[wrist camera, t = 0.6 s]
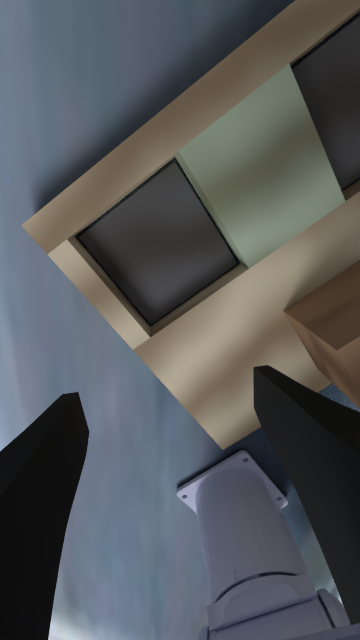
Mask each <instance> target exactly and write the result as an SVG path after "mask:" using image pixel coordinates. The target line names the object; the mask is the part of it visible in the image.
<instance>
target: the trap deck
mask: <svg viewBox="0 0 360 640" xmlns="http://www.w3.org/2000/svg"><path fill="white" fill-rule="evenodd" d="M358 12H360V0H295V1H294V2H293V3H291V4H290V5H289V6H288V7H286V8H285V9H284V10H283V11H282V12H280V13H279V14H278V15H277V16H275V17H274V18H273V19H272V20H271V21H269V22H268V23H267V24H266V25H265V26H263V27H262V28H261V29H260V30H258V31H257V32H256V33H255V34H254V35H252V36H251V37H250V38H249V39H247V40H246V41H245V42H244V43H243V44H241V45H240V46H239V47H238V48H237V49H235V50H234V51H233V52H232V53H230V54H229V55H228V56H227V57H226V58H224V59H223V60H222V61H221V62H220V63H218V64H217V65H216V66H215V67H213V68H212V69H211V70H210V71H209V72H207V73H206V74H205V75H204V76H202V77H201V78H200V79H199V80H198V81H196V82H195V83H194V84H193V85H192V86H190V87H189V88H188V89H187V90H185V91H184V92H183V93H182V94H181V95H179V96H178V97H177V98H176V99H175V100H173V101H172V102H171V103H170V104H168V105H167V106H166V107H165V108H164V109H162V110H161V111H160V112H159V113H157V114H156V115H155V116H154V117H153V118H151V119H150V120H149V121H148V122H147V123H145V124H144V125H143V126H142V127H140V128H139V129H138V130H137V131H136V132H134V133H133V134H132V135H131V136H129V137H128V138H127V139H126V140H125V141H123V142H122V143H121V144H120V145H119V146H117V147H116V148H115V149H114V150H112V151H111V152H110V153H109V154H108V155H106V156H105V157H104V158H103V159H102V160H100V161H99V162H98V163H97V164H95V165H94V166H93V167H92V168H91V169H89V170H88V171H87V172H86V173H84V174H83V175H82V176H81V177H80V178H78V179H77V180H76V181H75V182H74V183H72V184H71V185H70V186H69V187H67V188H66V189H65V190H64V191H63V192H61V193H60V194H59V195H58V196H57V197H55V198H54V199H53V200H52V201H50V202H49V203H48V204H47V205H46V206H44V207H43V208H42V209H41V210H39V211H38V212H37V213H36V214H35V215H33V216H32V217H31V218H30V219H29V220H27V221H26V222H25V223H24V224H22V225H21V226H22V227H23V228H24V229H25V230H26V231H27V232H28V233H29V235H30V236H31V237H32V238H33V239H34V240H35V241H36V242H37V244H38V245H39V246H40V247H41V248H42V249H43V250H44V251H45V252H46V254H47V255H48V256H49V257H50V258H51V259H52V260H53V261H54V262H55V264H56V265H57V266H58V267H59V268H60V269H61V270H62V271H63V272H64V274H65V275H66V276H67V277H68V278H69V279H70V280H71V281H72V283H73V284H74V285H75V286H76V287H77V288H78V289H79V290H80V291H81V293H82V294H83V295H84V296H85V297H86V298H87V299H88V300H89V301H90V303H91V304H92V305H93V306H94V307H95V308H96V309H97V310H98V311H99V313H100V314H101V315H102V316H103V317H104V318H105V319H106V320H107V321H108V323H109V324H110V325H111V326H112V327H113V328H114V329H115V330H116V332H117V333H118V334H119V335H120V336H121V337H122V338H123V339H124V340H125V342H126V343H127V344H128V345H129V346H130V347H131V348H132V349H133V350H134V352H135V353H136V354H137V355H138V356H139V357H140V358H141V359H142V360H143V362H144V363H145V364H146V365H147V366H148V367H149V368H150V369H151V371H152V372H153V373H154V374H155V375H156V376H157V377H158V378H159V379H160V381H161V382H162V383H163V384H164V385H165V386H166V387H167V388H168V389H169V391H170V392H171V393H172V394H173V395H174V396H175V397H176V398H177V399H178V401H179V402H180V403H181V404H182V405H183V406H184V407H185V408H186V409H187V411H188V412H189V413H190V414H191V415H192V416H193V417H194V418H195V420H196V421H197V422H198V423H199V424H200V425H201V426H202V427H203V428H204V430H205V431H206V432H207V433H208V434H209V435H210V436H211V437H212V438H213V440H214V441H215V442H216V443H217V444H218V445H219V446H220V447H221V448H222V450H224V449H226V448H227V447H229V446H231V445H232V444H234V443H235V442H237V441H239V440H240V439H242V438H244V437H245V436H247V435H249V434H250V433H252V432H254V431H255V430H257V429H258V428H260V427H261V425H260V422H259V420H258V417H257V415H256V412H255V410H254V389H253V367H257V366H264V365H269V366H271V367H273V368H274V369H276V370H278V371H280V372H281V373H283V374H285V375H286V376H288V377H290V378H292V379H293V380H295V381H297V382H298V383H300V384H302V385H304V386H306V387H307V388H309V389H311V390H313V391H315V392H317V393H318V392H319V391H321V390H322V389H324V388H326V387H327V386H329V385H331V384H332V382H331V381H330V380H329V379H328V378H327V377H325V376H324V375H323V374H322V373H321V372H320V371H319V370H318V369H317V367H316V365H315V364H314V362H313V360H312V359H311V357H310V355H309V353H308V352H307V350H306V348H305V347H304V345H303V343H302V342H301V340H300V338H299V336H298V335H297V333H296V331H295V330H294V328H293V326H292V325H291V323H290V321H289V319H288V318H287V316H286V314H285V313H284V310H285V309H287V308H288V307H290V306H291V305H293V304H294V303H296V302H297V301H299V300H300V299H302V298H303V297H305V296H306V295H308V294H309V293H311V292H312V291H314V290H315V289H317V288H318V287H320V286H321V285H323V284H324V283H326V282H327V281H329V280H330V279H332V278H333V277H335V276H336V275H338V274H339V273H341V272H342V271H344V270H345V269H347V268H348V267H350V266H351V265H353V264H354V263H356V262H357V261H359V260H360V179H359V180H357V181H356V182H354V183H353V184H352V185H350V186H349V187H347V188H346V189H345V190H343V191H342V192H341V190H342V189H343V188H345V187H346V186H348V185H349V184H351V183H352V182H353V181H355V180H356V179H358V178H359V177H360V16H359V17H358V18H356V19H355V20H354V21H353V22H351V23H350V24H349V25H348V26H346V27H345V28H344V29H342V30H341V31H340V32H339V33H337V34H336V35H335V36H334V37H332V38H331V39H330V40H328V41H327V42H326V43H325V44H323V45H322V46H321V47H320V48H318V49H317V50H316V51H315V52H313V53H312V54H311V55H309V56H308V57H307V58H306V59H304V60H303V61H302V62H301V63H299V64H298V65H297V66H295V67H294V68H293V69H291V67H290V66H291V65H292V64H294V63H295V62H296V61H297V60H299V59H300V58H301V57H303V56H304V55H305V54H306V53H308V52H309V51H310V50H311V49H313V48H314V47H315V46H316V45H318V44H319V43H320V42H322V41H323V40H324V39H325V38H327V37H328V36H329V35H330V34H332V33H333V32H334V31H335V30H337V29H338V28H339V27H341V26H342V25H343V24H344V23H346V22H347V21H348V20H349V19H351V18H352V17H353V16H354V15H356V14H357V13H358ZM173 158H176V159H177V161H178V163H179V164H180V166H181V167H182V169H183V171H184V172H185V174H186V176H187V177H188V179H189V181H190V182H191V184H192V185H193V187H194V189H195V190H196V192H197V194H198V195H199V197H200V199H201V200H202V202H203V203H204V205H205V207H206V208H207V210H208V212H209V213H210V215H211V217H212V218H213V220H214V221H215V223H216V225H217V226H218V228H219V230H220V231H221V233H222V235H223V236H224V238H225V239H226V241H227V243H228V244H229V246H230V248H231V249H232V251H233V253H234V254H235V256H236V257H237V259H238V261H239V262H240V263H239V264H238V265H237V266H235V267H234V268H232V269H231V270H230V271H228V272H227V273H225V274H224V275H222V274H223V273H224V272H226V271H227V270H229V269H230V268H231V267H233V266H234V265H236V264H237V262H236V260H235V258H234V257H233V255H232V254H231V252H230V250H229V249H228V247H227V245H226V244H225V242H224V241H223V239H222V237H221V236H220V234H219V232H218V231H217V229H216V228H215V226H214V224H213V223H212V221H211V219H210V218H209V216H208V215H207V213H206V211H205V210H204V208H203V206H202V205H201V203H200V202H199V200H198V198H197V197H196V195H195V193H194V192H193V190H192V189H191V187H190V185H189V184H188V182H187V180H186V179H185V177H184V176H183V174H182V172H181V171H180V169H179V167H178V166H177V164H176V163H175V162H174V163H172V164H171V165H170V166H168V167H167V168H166V169H165V170H163V171H162V172H161V173H160V174H158V175H157V176H156V177H154V178H153V179H152V180H151V181H149V182H148V183H147V184H146V185H144V186H143V187H142V188H140V189H139V190H138V191H137V192H135V193H134V194H133V195H132V196H130V197H129V198H128V199H127V200H125V201H124V202H123V203H121V204H120V205H119V206H118V207H116V208H115V209H114V210H113V211H111V212H110V213H109V214H107V215H106V216H105V217H104V218H102V219H101V220H100V221H99V222H97V223H96V224H95V225H93V226H92V227H91V228H90V229H88V230H87V231H86V232H85V233H83V234H82V235H81V236H80V237H79V239H80V240H81V241H82V242H83V243H84V245H85V246H86V247H87V248H88V249H89V251H90V252H91V253H92V254H93V256H94V257H95V258H96V259H97V260H98V262H99V263H100V264H101V265H102V266H103V268H104V269H105V270H106V271H107V272H108V274H109V275H110V276H111V277H112V278H113V280H114V281H115V282H116V283H117V284H118V286H119V287H120V288H121V289H122V291H123V292H124V293H125V294H126V295H127V297H128V298H129V299H130V300H131V301H132V303H133V304H134V305H135V306H136V307H137V309H138V310H139V311H140V312H141V313H142V315H143V316H144V317H145V318H146V319H147V321H148V322H149V323H150V324H152V323H154V322H155V321H156V320H158V319H159V318H161V317H162V316H163V315H165V314H166V313H168V312H169V311H171V310H172V309H173V308H175V307H176V306H178V305H179V304H180V303H182V302H183V301H185V300H186V299H188V298H189V297H190V296H192V295H193V294H195V293H196V292H197V291H199V290H200V289H202V288H203V287H205V286H206V285H207V284H209V283H210V282H212V281H213V280H214V279H216V278H217V277H219V276H220V275H222V276H221V277H220V278H218V279H217V280H215V281H214V282H213V283H211V284H210V285H208V286H207V287H205V288H204V289H203V290H201V291H200V292H198V293H197V294H196V295H194V296H193V297H191V298H190V299H188V300H187V301H186V302H184V303H183V304H181V305H180V306H178V307H177V308H176V309H174V310H173V311H171V312H170V313H169V314H167V315H166V316H164V317H163V318H161V319H160V320H159V321H157V322H156V323H154V324H153V325H152V326H149V325H148V323H147V322H146V321H145V320H144V319H143V317H142V316H141V315H140V314H139V313H138V311H137V310H136V309H135V308H134V307H133V305H132V304H131V303H130V302H129V301H128V299H127V298H126V297H125V296H124V295H123V293H122V292H121V291H120V290H119V288H118V287H117V286H116V285H115V284H114V282H113V281H112V280H111V279H110V278H109V276H108V275H107V274H106V273H105V272H104V270H103V269H102V268H101V267H100V266H99V264H98V263H97V262H96V261H95V260H94V258H93V257H92V256H91V255H90V254H89V252H88V251H87V250H86V249H85V248H84V246H83V245H82V244H81V243H80V242H79V240H78V239H77V238H76V237H75V236H76V235H77V234H78V233H80V232H81V231H82V230H83V229H85V228H86V227H87V226H88V225H90V224H91V223H92V222H94V221H95V220H96V219H97V218H99V217H100V216H101V215H102V214H104V213H105V212H106V211H107V210H109V209H110V208H111V207H113V206H114V205H115V204H116V203H118V202H119V201H120V200H121V199H123V198H124V197H125V196H126V195H128V194H129V193H130V192H132V191H133V190H134V189H135V188H137V187H138V186H139V185H140V184H142V183H143V182H144V181H145V180H147V179H148V178H149V177H151V176H152V175H153V174H154V173H156V172H157V171H158V170H159V169H161V168H162V167H163V166H164V165H166V164H167V163H168V162H170V161H171V160H172V159H173Z"/></svg>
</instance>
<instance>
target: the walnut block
mask: <svg viewBox="0 0 360 640" xmlns="http://www.w3.org/2000/svg"><path fill="white" fill-rule="evenodd" d="M284 313H285V314H286V316H287V318H288V319H289V321H290V323H291V325H292V326H293V328H294V330H295V331H296V333H297V335H298V336H299V338H300V340H301V342H302V343H303V345H304V347H305V348H306V350H307V352H308V353H309V355H310V357H311V359H312V360H313V362H314V364H315V365H316V367H317V369H318V370H319V371H320V372H321V373H322V374H323V375H324V376H325V377H327V378H328V379H329V380H330V381H331V382H332V383H333V384H334V385H335V386H336V387H337V388H338V389H339V390H340V391H341V392H342V393H344V394H345V395H346V396H347V397H348V398H349V399H350V400H351V401H352V402H353V403H354V404H355V405H356V406H357V407H358V408H360V260H359V261H357V262H356V263H354V264H353V265H351V266H350V267H348V268H347V269H345V270H344V271H342V272H341V273H339V274H338V275H336V276H335V277H333V278H332V279H330V280H329V281H327V282H326V283H324V284H323V285H321V286H320V287H318V288H317V289H315V290H314V291H312V292H311V293H309V294H308V295H306V296H305V297H303V298H302V299H300V300H299V301H297V302H296V303H294V304H293V305H291V306H290V307H288V308H287V309H285V310H284Z"/></svg>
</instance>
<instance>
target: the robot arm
mask: <svg viewBox="0 0 360 640" xmlns="http://www.w3.org/2000/svg"><path fill="white" fill-rule="evenodd" d="M253 389H254V410H255V412H256V415H257V417H258V420H259V422H260V425H261V427H262V429H263V431H264V433H265V435H266V437H267V438H268V440H269V442H270V444H271V446H272V447H273V449H274V451H275V453H276V454H277V456H278V458H279V460H280V462H281V463H282V465H283V467H284V469H285V470H286V472H287V474H288V476H289V477H290V479H291V481H292V483H293V485H294V487H295V489H296V491H297V493H298V496H299V498H300V500H301V502H302V505H303V507H304V509H305V511H306V514H307V516H308V518H309V521H310V523H311V525H312V528H313V530H314V532H315V535H316V537H317V540H318V542H319V544H320V547H321V549H322V552H323V554H324V557H325V559H326V562H327V564H328V567H329V569H330V572H331V574H332V577H333V579H334V582H335V584H336V587H337V589H338V592H339V595H340V597H341V600H342V602H343V605H344V608H345V610H346V611H345V610H344V608H343V606H342V605H341V603H340V601H339V600H338V599H337V598H336V597H335V596H333V595H332V594H330V593H328V591H327V590H326V589H323V588H322V589H320V590H317V594H316V592H315V589H314V587H313V585H312V583H311V579H310V575H309V572H308V569H307V566H306V564H305V562H304V560H303V557H302V555H301V553H300V551H299V548H298V546H297V544H296V542H295V539H294V537H293V535H292V533H291V530H290V528H289V526H288V524H287V521H286V519H285V517H284V515H283V512H282V510H281V508H283V507H285V506H286V505H287V504H288V501H287V499H286V497H285V496H284V495H283V494H282V493H281V491H280V490H279V489H278V488H277V487H276V486H275V484H274V483H273V482H272V481H271V480H270V479H269V477H268V476H267V475H266V474H265V473H264V471H263V470H262V469H261V468H260V467H259V466H258V464H257V463H256V462H255V461H254V460H253V458H252V457H251V456H250V455H249V454H248V453H247V451H245V450H241V451H239V452H237V453H235V454H234V455H232V456H230V457H229V458H227V459H226V460H224V461H222V462H221V463H219V464H217V465H216V466H214V467H212V468H211V469H209V470H207V471H206V472H204V473H202V474H201V475H199V476H197V477H196V478H194V479H192V480H191V481H189V482H187V483H186V484H184V485H182V486H181V487H179V488H178V489H177V490H176V493H177V496H178V497H179V498H180V499H181V500H182V501H184V502H185V503H186V504H187V505H188V506H189V507H190V508H191V509H192V510H193V511H195V512H196V513H197V517H198V523H199V529H200V536H201V542H202V548H203V554H204V560H205V566H206V572H207V579H208V585H209V591H210V597H211V603H212V604H211V605H209V606H207V607H206V611H207V618H208V624H209V626H207V627H204V628H202V629H201V631H200V633H199V638H198V640H360V412H358V411H356V410H353V409H351V408H348V407H346V406H344V405H341V404H339V403H337V402H335V401H333V400H331V399H329V398H327V397H325V396H323V395H321V394H319V393H317V392H315V391H313V390H311V389H309V388H307V387H306V386H304V385H302V384H300V383H298V382H297V381H295V380H293V379H292V378H290V377H288V376H286V375H285V374H283V373H281V372H280V371H278V370H276V369H274V368H273V367H271V366H269V365H264V366H257V367H253ZM88 438H89V429H88V426H87V422H86V419H85V415H84V411H83V408H82V404H81V401H80V397H79V393H78V392H75V393H68V394H63V395H61V396H60V397H59V398H58V399H57V400H56V401H55V402H54V403H53V404H52V405H51V406H49V407H48V408H47V409H46V410H45V411H44V412H43V413H42V414H41V415H40V416H39V417H38V418H37V419H36V420H35V421H34V422H33V423H32V424H31V425H30V426H29V427H28V428H26V429H25V430H24V431H23V432H22V433H21V434H20V435H19V436H17V437H16V438H15V439H14V440H13V441H12V442H11V443H9V444H8V445H7V446H6V447H5V448H4V449H3V450H1V451H0V640H48V636H49V629H50V622H51V615H52V608H53V601H54V595H55V589H56V583H57V577H58V570H59V564H60V559H61V553H62V548H63V542H64V537H65V531H66V527H67V523H68V519H69V515H70V511H71V508H72V504H73V501H74V497H75V493H76V490H77V486H78V483H79V479H80V476H81V472H82V469H83V465H84V461H85V457H86V452H87V445H88ZM245 458H246V459H245ZM317 596H318V597H317Z"/></svg>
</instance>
